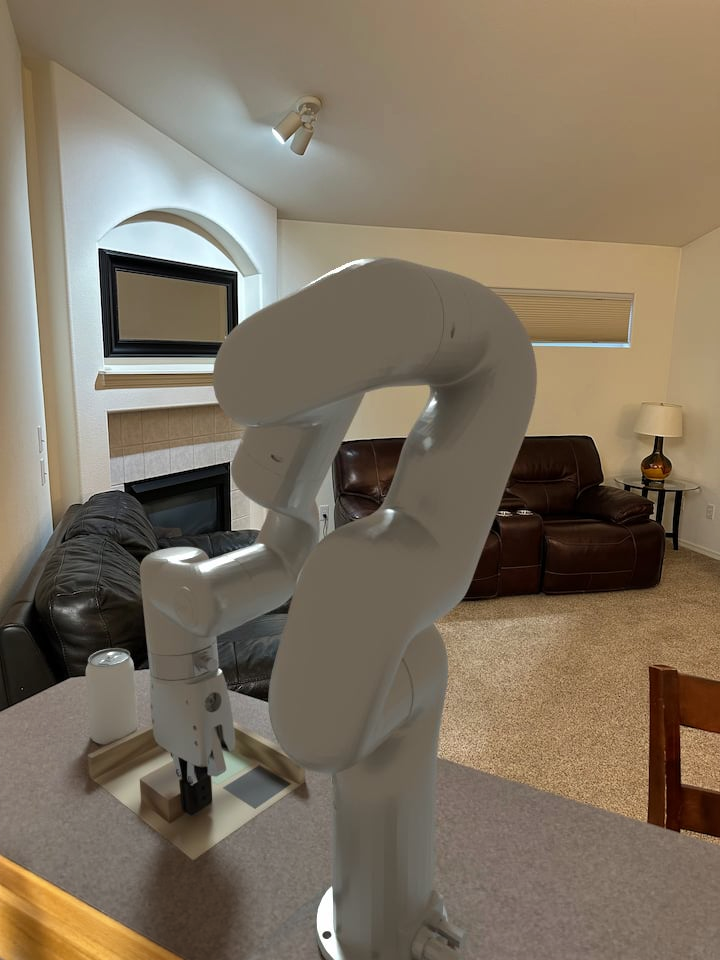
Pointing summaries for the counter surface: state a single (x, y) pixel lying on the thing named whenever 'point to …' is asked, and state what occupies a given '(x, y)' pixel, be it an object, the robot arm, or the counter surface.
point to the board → (230, 798)
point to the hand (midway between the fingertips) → (197, 806)
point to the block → (163, 792)
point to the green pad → (232, 765)
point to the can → (111, 695)
